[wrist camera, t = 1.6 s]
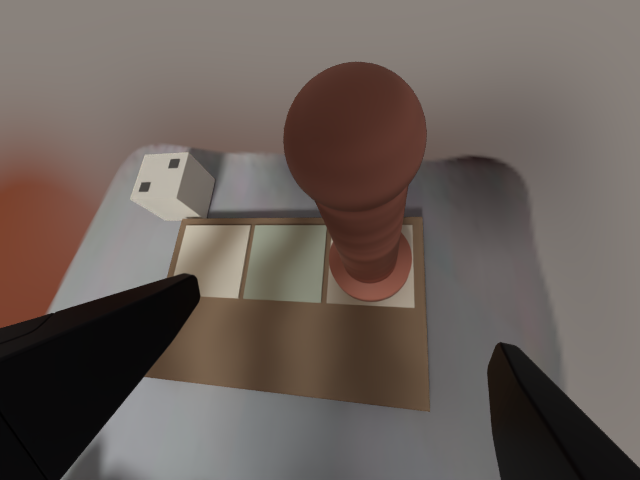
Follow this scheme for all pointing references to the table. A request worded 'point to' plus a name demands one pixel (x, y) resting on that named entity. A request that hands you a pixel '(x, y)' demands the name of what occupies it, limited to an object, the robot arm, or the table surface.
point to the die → (173, 187)
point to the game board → (295, 317)
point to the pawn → (359, 170)
